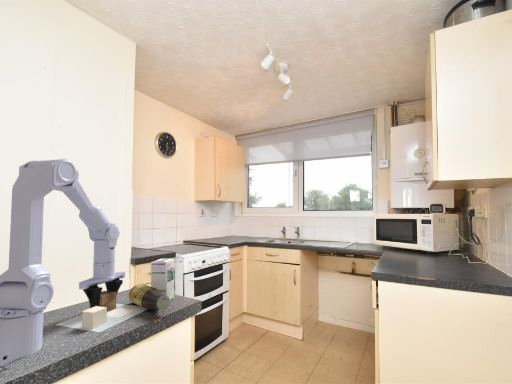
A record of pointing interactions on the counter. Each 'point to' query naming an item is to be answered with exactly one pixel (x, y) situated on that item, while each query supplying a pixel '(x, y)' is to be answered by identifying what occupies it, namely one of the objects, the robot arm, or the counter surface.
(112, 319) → the board
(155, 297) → the sauce bottle
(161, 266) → the syrup box
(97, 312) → the cream block
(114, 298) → the walnut block
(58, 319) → the counter surface
